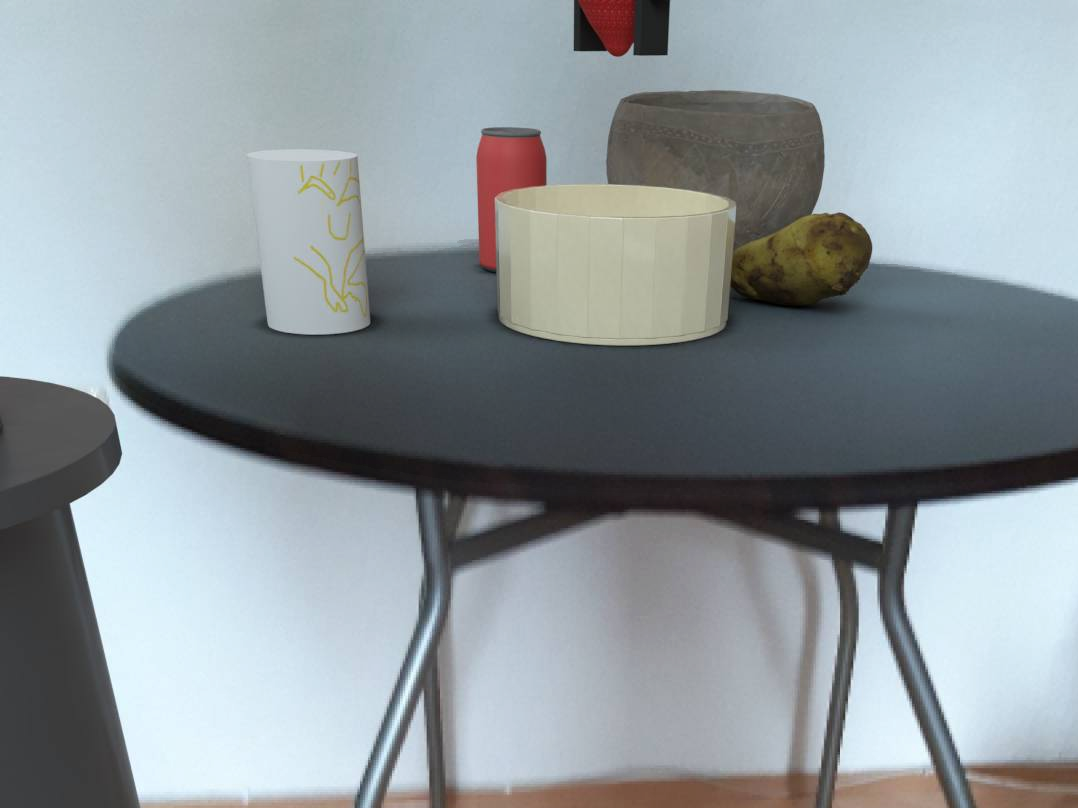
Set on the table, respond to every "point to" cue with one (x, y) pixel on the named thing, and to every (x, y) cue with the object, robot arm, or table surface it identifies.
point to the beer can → (504, 176)
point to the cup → (310, 240)
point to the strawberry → (612, 23)
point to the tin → (614, 263)
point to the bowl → (723, 152)
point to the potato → (803, 261)
